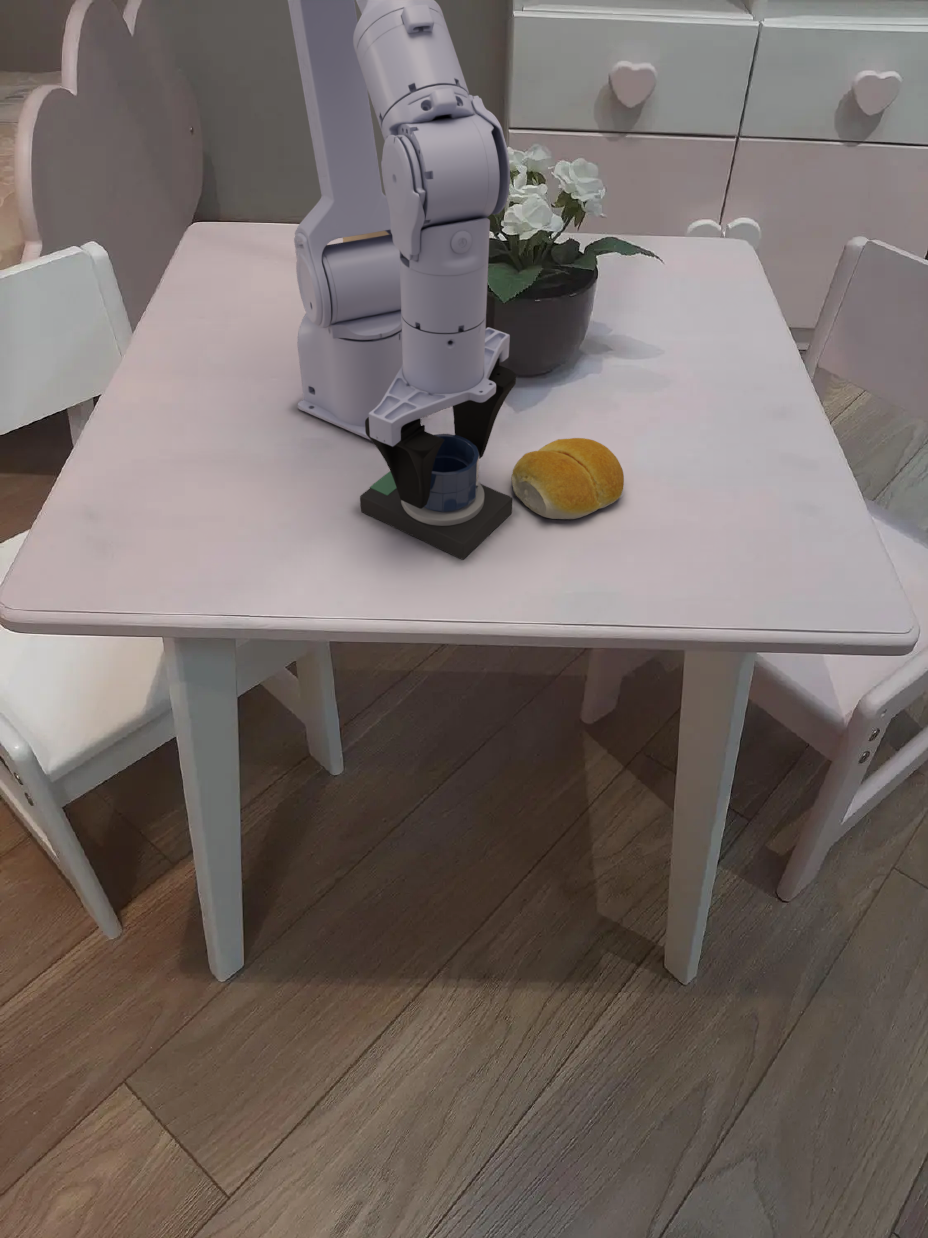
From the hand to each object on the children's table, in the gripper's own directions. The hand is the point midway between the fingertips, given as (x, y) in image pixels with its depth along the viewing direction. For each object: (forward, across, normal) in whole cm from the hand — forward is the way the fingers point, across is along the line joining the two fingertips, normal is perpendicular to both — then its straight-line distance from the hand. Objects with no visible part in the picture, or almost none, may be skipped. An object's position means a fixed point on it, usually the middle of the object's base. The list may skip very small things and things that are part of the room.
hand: (442, 476), depth 73 cm
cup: (+2, 0, 0) cm, 2 cm away
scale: (+4, 0, +1) cm, 4 cm away
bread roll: (+4, +8, -7) cm, 11 cm away
